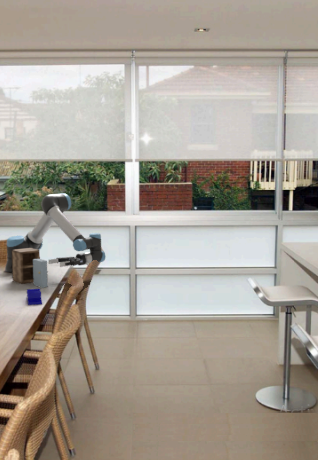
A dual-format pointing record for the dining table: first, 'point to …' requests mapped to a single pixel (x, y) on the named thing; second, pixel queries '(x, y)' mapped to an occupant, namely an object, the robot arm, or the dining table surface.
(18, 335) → the dining table surface
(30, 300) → the mounting bracket
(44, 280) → the upright grey-blue slab
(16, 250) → the cabinet
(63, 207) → the robot arm
